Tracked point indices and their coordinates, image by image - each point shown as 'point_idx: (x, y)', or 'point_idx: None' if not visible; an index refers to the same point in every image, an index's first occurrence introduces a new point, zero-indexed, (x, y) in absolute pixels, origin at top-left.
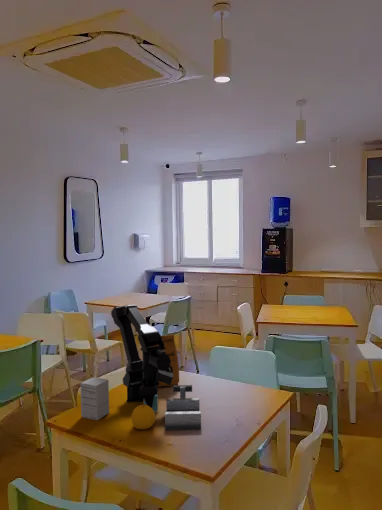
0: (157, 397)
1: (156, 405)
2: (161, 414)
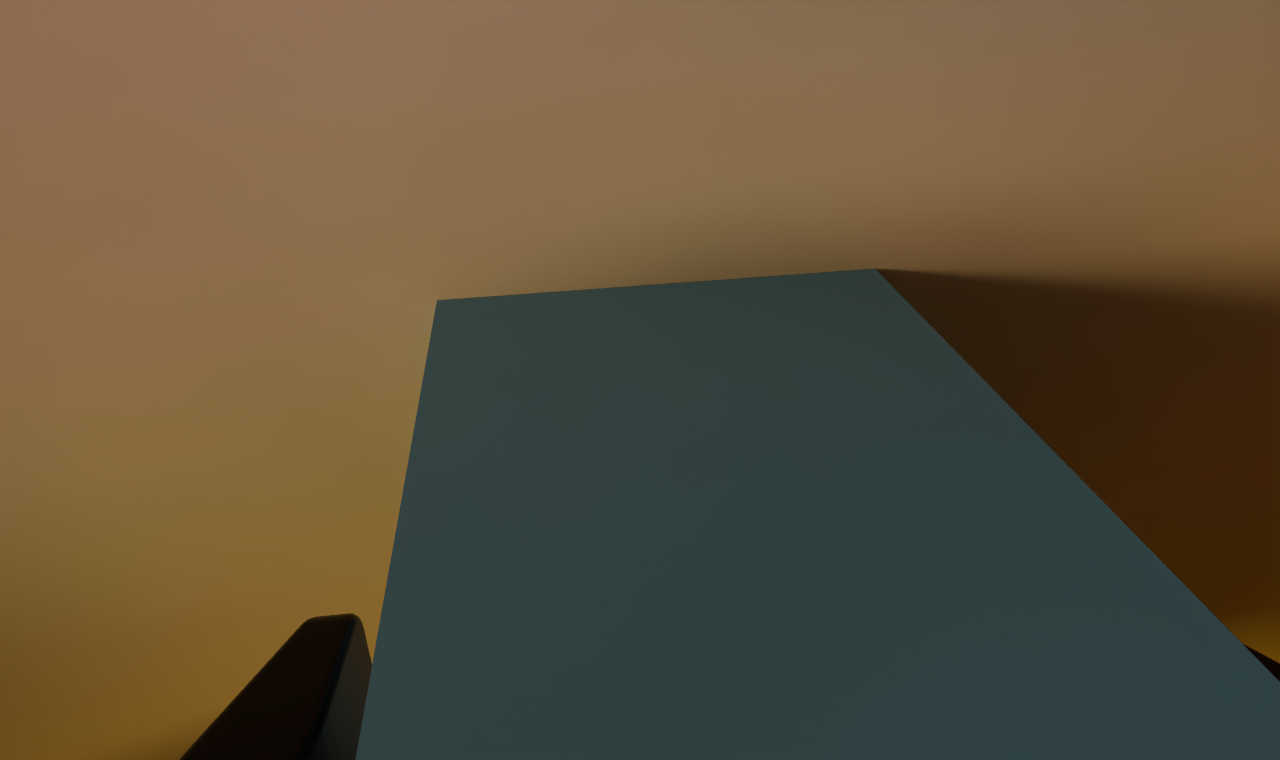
0: (836, 668)
1: (982, 427)
2: (1184, 71)
